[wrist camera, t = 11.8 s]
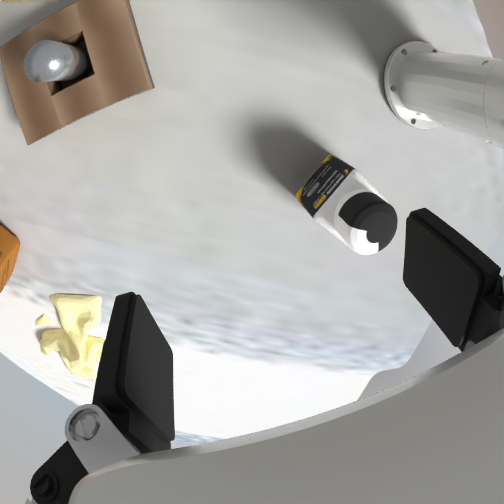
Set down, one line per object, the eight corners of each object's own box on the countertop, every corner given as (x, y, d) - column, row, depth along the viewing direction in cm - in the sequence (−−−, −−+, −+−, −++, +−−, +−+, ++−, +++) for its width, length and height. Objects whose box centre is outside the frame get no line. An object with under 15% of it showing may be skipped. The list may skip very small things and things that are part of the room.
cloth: (78, 270, 39) (66, 297, 34) (157, 348, 49) (156, 377, 44) (4, 327, 42) (-8, 352, 36) (74, 386, 51) (70, 411, 46)
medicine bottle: (329, 152, 37) (380, 184, 27) (363, 185, 40) (416, 224, 30) (293, 195, 39) (331, 241, 29) (330, 224, 43) (372, 273, 32)
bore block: (127, -5, 23) (118, -17, 19) (154, 87, 30) (149, 88, 25) (19, 50, 23) (-2, 48, 19) (46, 136, 29) (27, 145, 25)
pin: (89, 43, 24) (55, 31, 16) (97, 71, 26) (66, 69, 18) (60, 57, 24) (19, 53, 16) (68, 85, 26) (29, 90, 18)
